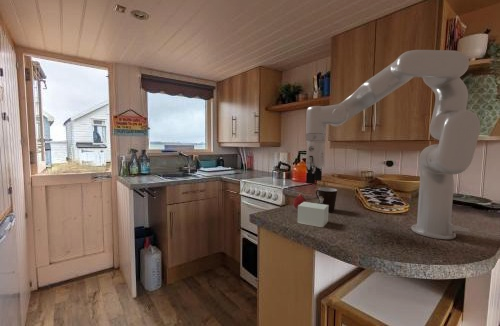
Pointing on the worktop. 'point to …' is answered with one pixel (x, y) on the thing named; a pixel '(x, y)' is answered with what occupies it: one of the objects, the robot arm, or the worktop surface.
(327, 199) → the coffee mug
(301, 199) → the onion
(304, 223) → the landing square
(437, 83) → the robot arm
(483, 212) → the worktop surface
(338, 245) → the worktop surface
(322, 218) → the pale sage box
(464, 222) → the worktop surface
